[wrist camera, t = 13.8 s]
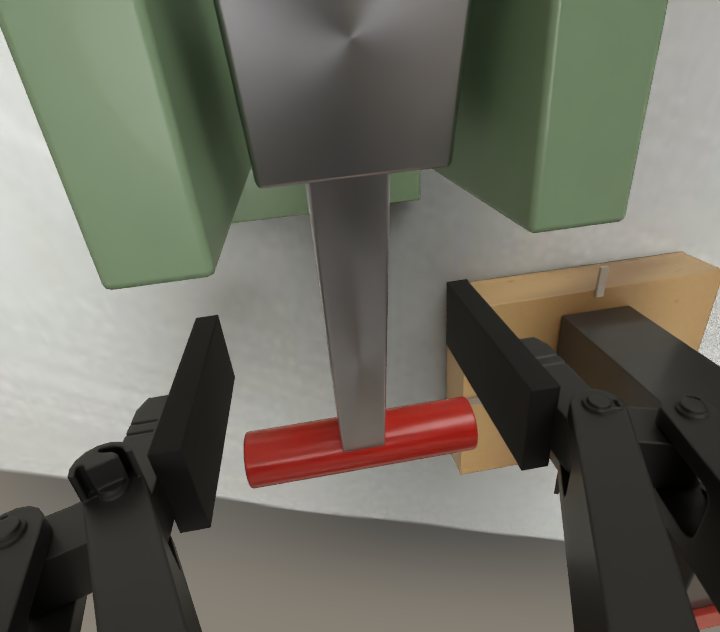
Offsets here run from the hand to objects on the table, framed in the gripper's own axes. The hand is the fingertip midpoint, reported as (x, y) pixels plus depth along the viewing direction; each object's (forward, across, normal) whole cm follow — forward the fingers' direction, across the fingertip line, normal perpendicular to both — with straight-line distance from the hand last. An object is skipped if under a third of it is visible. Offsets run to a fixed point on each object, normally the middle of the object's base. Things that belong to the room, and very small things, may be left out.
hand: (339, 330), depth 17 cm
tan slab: (+4, +12, -6) cm, 14 cm away
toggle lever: (-6, 0, +5) cm, 8 cm away
